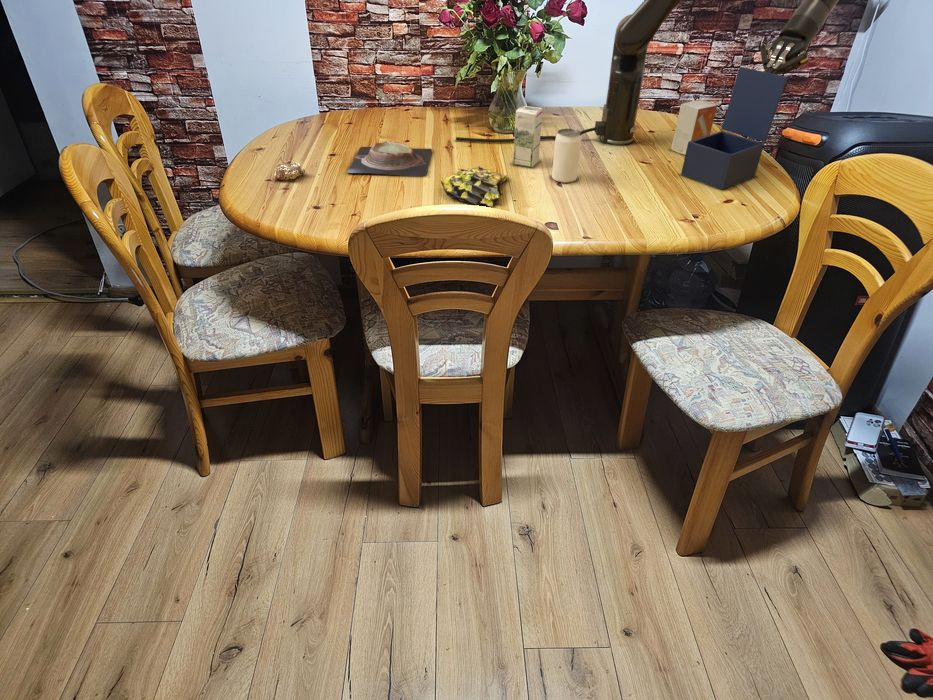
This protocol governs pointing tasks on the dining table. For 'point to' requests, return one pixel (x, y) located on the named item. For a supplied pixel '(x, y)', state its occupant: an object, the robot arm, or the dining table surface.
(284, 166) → the beige lumpy piece
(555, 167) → the can
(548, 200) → the dining table surface
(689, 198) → the dining table surface
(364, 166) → the quiche
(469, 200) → the banana patterned fabric
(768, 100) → the case lid
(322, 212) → the dining table surface
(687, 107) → the small box
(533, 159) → the syrup box
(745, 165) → the case
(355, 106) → the dining table surface
